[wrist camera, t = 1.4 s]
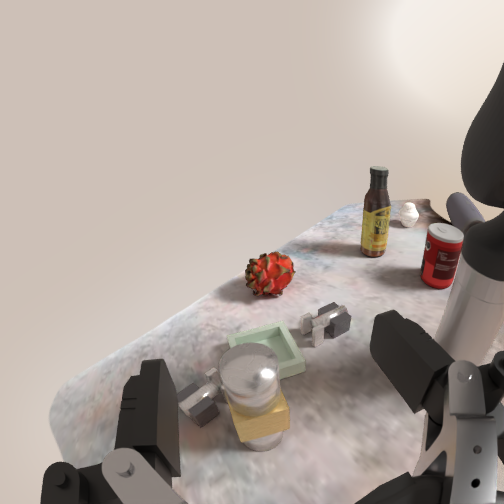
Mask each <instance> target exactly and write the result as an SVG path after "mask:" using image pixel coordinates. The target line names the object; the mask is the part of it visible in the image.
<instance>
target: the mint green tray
mask: <svg viewBox="0 0 504 504" xmlns="http://www.w3.org/2000/svg"><path fill="white" fill-rule="evenodd" d="M227 339H228V343H229V347H230V348H232V347H234V346H236V345H239V344H242V343H260V344H263V345H266V346H268V347H269V348H271V349H272V350H273V351H274V352H275V353H276V355H277V357H278V363H279V377H280V380H281V379H284V378H287V377H290V376H293V375H296V374H299V373H302V372H305V364H306V361H305V359H304V357H303V355H302V354H301V352H300V350H299V348H298V347H297V345H296V343H295V341H294V339H293V338H292V336H291V334H290V332H289V330H288V329H287V327H286V325H285V323H284V321H280V322H277V323H273V324H269V325H266V326H262V327H258V328H254V329H251V330H247V331H243V332H239V333H235V334H231V335H227Z"/></svg>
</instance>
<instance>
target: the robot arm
mask: <svg viewBox="0 0 504 504" xmlns="http://www.w3.org/2000/svg"><path fill="white" fill-rule="evenodd" d="M461 174H462V179H463V182H464V185H465V187H466V189H467V191H468V193H469V194H470V195H471V196H472V197H473V198H474V199H475V200H477V201H479V202H481V203H483V204H485V205H488V206H494V207H499V208H504V63H503V65H502V68H501V71H500V73H499V75H498V78H497V80H496V82H495V84H494V86H493V88H492V89H491V91H490V93H489V95H488V97H487V98H486V100H485V102H484V103H483V105H482V107H481V108H480V110H479V112H478V113H477V115H476V117H475V118H474V120H473V122H472V124H471V126H470V128H469V130H468V133H467V135H466V138H465V141H464V145H463V150H462V157H461ZM503 321H504V211H503V212H502V213H501V214H500V215H499V216H497V217H495V218H494V219H492V220H490V221H487V222H483V223H480V224H476V225H474V226H472V227H471V228H470V229H469V230H468V231H467V233H466V235H465V238H464V242H463V247H462V252H461V256H460V260H459V264H458V268H457V272H456V276H455V279H454V283H453V286H452V289H451V293H450V296H449V299H448V302H447V305H446V308H445V311H444V314H443V317H442V319H441V322H440V325H439V327H438V330H437V332H436V335H435V338H434V339H432V337H431V336H430V335H429V334H428V333H426V332H425V330H424V329H423V328H422V327H420V326H419V325H418V324H417V323H415V322H413V321H411V320H409V319H407V318H406V319H404V318H403V317H402V316H401V315H400V314H399V313H398V312H397V311H395V310H391V311H387V312H384V313H381V314H378V315H376V317H375V319H374V325H373V331H372V336H371V341H370V351H371V355H372V357H373V359H374V360H375V361H376V363H377V364H378V365H379V367H380V368H381V369H382V371H383V372H384V373H385V375H386V376H387V377H388V379H389V380H390V381H391V383H392V384H393V385H394V387H395V388H396V389H397V391H398V392H399V393H400V395H401V396H402V397H403V399H404V400H405V402H406V403H407V404H408V406H409V407H410V408H411V410H412V411H413V413H414V414H415V413H417V412H418V411H420V410H422V409H425V410H426V411H427V412H426V414H425V419H424V429H423V438H422V446H421V453H420V457H419V460H418V462H417V465H416V467H415V469H414V472H413V476H412V477H411V475H410V474H409V472H406V473H404V474H402V475H401V476H399V477H397V478H395V479H393V480H391V481H389V482H386V483H384V484H382V485H380V486H379V487H377V488H376V489H375V490H373V491H372V492H370V493H369V494H368V495H366V496H365V497H363V498H362V499H361V500H359V501H358V502H356V503H355V504H504V492H502V491H497V468H498V456H499V458H500V459H501V461H502V462H503V464H504V406H503V405H502V403H501V400H502V399H503V397H504V351H500V352H498V353H496V354H495V356H494V358H493V360H492V362H491V363H490V364H486V365H482V366H480V364H481V363H482V361H483V359H484V358H485V356H486V354H487V352H488V351H489V349H490V347H491V345H492V343H493V341H494V339H495V337H496V335H497V333H498V331H499V329H500V327H501V325H502V323H503ZM120 408H121V411H120V414H119V421H118V428H117V435H116V443H115V448H114V450H113V451H111V452H110V453H109V454H108V455H107V456H106V457H105V458H104V460H103V462H102V463H100V464H97V465H94V466H89V467H85V468H80V469H76V468H75V467H73V466H72V465H71V464H69V463H66V462H56V463H54V464H52V465H51V466H49V467H48V468H47V470H46V471H45V474H44V478H43V485H42V493H41V504H188V503H187V502H186V501H185V500H183V499H182V498H181V497H180V496H179V495H178V494H177V493H176V492H175V491H174V490H173V489H172V477H181V470H180V454H179V431H178V399H177V393H176V389H175V386H174V383H173V381H172V378H171V376H170V373H169V371H168V368H167V366H166V363H165V361H164V359H153V360H144V361H142V364H141V370H140V375H137V376H131V377H130V379H129V380H128V382H127V383H126V385H125V386H124V390H123V395H122V401H121V407H120Z"/></svg>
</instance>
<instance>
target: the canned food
mask: <svg viewBox="0 0 504 504" xmlns="http://www.w3.org/2000/svg"><path fill="white" fill-rule="evenodd" d="M463 237H464V235H463V233H462V232H461V231H460V230H459V229H458V228H456V227H454V226H451V225H448V224H444V223H433V224H431V225H429V227H428V232H427V238H426V244H425V250H424V255H423V260H422V266H421V271H420V274H421V278H422V280H423V281H424V282H425V283H426V284H427V285H429V286H431V287H434V288H438V289H444V288H447V287H449V286H450V285H451V283H452V282H453V279H454V275H455V272H456V268H457V264H458V260H459V256H460V252H461V248H462V243H463Z"/></svg>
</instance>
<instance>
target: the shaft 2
mask: <svg viewBox="0 0 504 504" xmlns="http://www.w3.org/2000/svg"><path fill="white" fill-rule="evenodd" d="M350 321H351V316H350V315H349V314H348V311H347V308H346V307H345V306H344V305H341V306H338V305H337V304H336V303H335V302H333V303H331V304H329V305H327V306H324V307H322V308H320V309H318V317H316V318H314V319H312V315H311V314H310V313H307V314H305V315H303V316H301V333H302V334H303V335H305V334H307V333H309V332H311V331H312V345H313V346H314V347H316V346H318V345H320V344H322V343H323V339H324V330H325V331H326V332H328V333H329V334H330V335H331V336H332V337H333V338H335V337H337V336H339V335H341V334H343V333H345V332H347V331H348V330H349V328H350Z"/></svg>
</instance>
